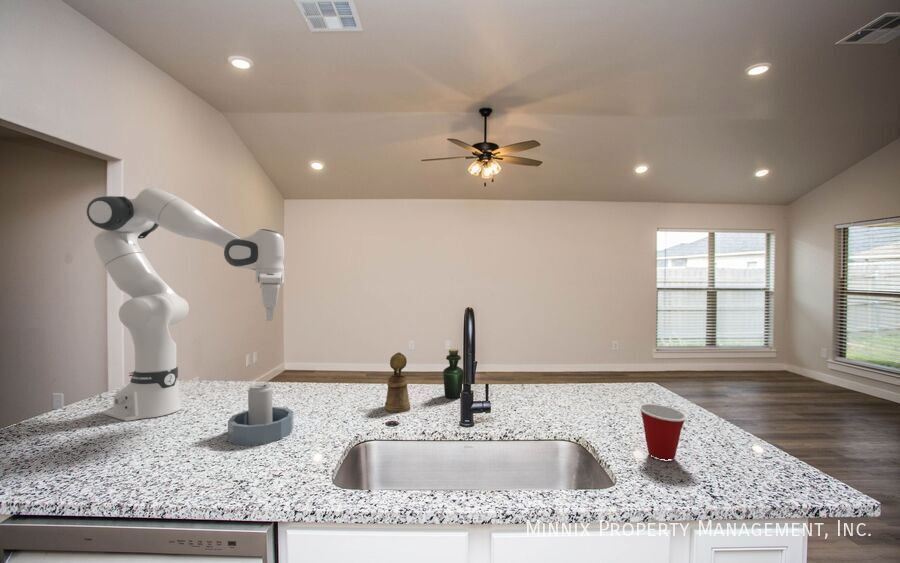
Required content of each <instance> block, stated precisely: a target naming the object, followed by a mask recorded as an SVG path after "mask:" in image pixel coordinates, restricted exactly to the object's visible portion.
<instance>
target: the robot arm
mask: <svg viewBox="0 0 900 563" xmlns="http://www.w3.org/2000/svg"><path fill="white" fill-rule="evenodd" d="M86 215H87V219H88V221H89V222H90V223H91V224H92V225H94V226H95V227H97V228H99V229H101V230H103V231H100V232H99V233H98V234H97V235H95V237H94V240H93V244H94V248H95V251H96V252H97V255H98V257H99V260H100V261H101V263H102V265H103V266H104V268H105V269H106V271H107V273H108V274H109V276H110V277H111V279H112V281H113V282H114V284H115V286H116V287H117V289H119V290H120V291H122V292H124V293H125V294H127V295H129V297H131V298H130V299H128V300H126V301H124V302H123V303H122V304H121V306H120V307H119V311H118V318H119V321H120V322H121V323H122V325H124V326H125V327H126V328H127V329H128V331H129V333H130V336H131V339H132V342H133V347H134V370H133V372H132V371H131V372H128V374H129V375H128V377H131V378H130V381H129V383H128V384H126V386H124V387H123V388H121V389H119V391H118V392H117V393H116V394H114V397H113V402H112V403H113V404H112V405H113V406H112V407H109V408H107V409H105V410H104V411H103V415H104V416H108V417H112V418H115V419H117V420H118V419H119V420H122V421H125V422H129V421H135V420H140V419H149V418H157V417H162V416H163V417H164V416H166V415H170V414H173V413H176V412H178V411H179V410H181V409H182V407H183V403H184V401H183V400H182V399H181V390H180V382H179V381H178V377H179V368H178V366H177V362H178V361H177V358H178V356H177V355H178V354H177V353H178V352H177V351H178V348H177V347H178V345H177V343H176V341H174V340H173V338H172V335H171V333H170V328H169V326H173V325H175V324H178V323H180V322H181V321H183V320H184V319H186V317H187V316H188V314H189V313H190V312H189V311H190V307H189V306H190V305H189V303H188V301H187V300H186V299H185V298H184V297H182V296H180V294H179V295H178V294H177V293H176V292H175V291H174V290H173V289H172V288H171V286H169V285H168V284H167V283H166V282H165V281H164V280H163V278H161V277H160V275H159V274H158V273H157V272H156V270H155V268H154V267H153V266H152V263H151V262H150V261H149V259H148V258H147V256H146V254H145V253H144V251H143V250H142V248H141V247H140V245H139V244H138V243H139V242H138V239H141V240H142V239H145V238H146V237H147V236H148V235H149V234H151V233H152V232H154V231H156V229H157V228H158V227H161V228H163V229H164V230H167V231H168V232H171V233H173V234H176V235H178V236H182V237H186V238H191V239H195V240H201V241H205V242H209V243H212V244H214V245H217V246H218V247H221V248H222V249H224V250H223V257H224V259H225V260H226V263H227V264H229V265H231V266H233V267H235V268H242V269H250V270H253V271H255V281H254V282H255V284H259V289H261V296H262V303H263V307H264V308H266V311H265V312H266V321H268V322H272V321H273V320H274V310H275V309H274V308H276V307H277V304H278V300H279V299H278V298H279V290H280V289H281V285H282V284H285V265H284V260H285V257H286V256H285V255H286V254H285V253H286V252H285V251H286V250H285V240H284V236H283V235H282V234H281V233H280V232H278V231H275V230H270V229H265V228H261V229H258V230H257V231H255V232H254V233H252V234H250V235H247V236H244V237H241V236H239V235H238V234H236V233H234V232H232V231H230V230H228V229H226V228H225V227H223V226H222V225H220V224H219V223H217V222H216V221H214V220H213V219H211V218H210V217H208V216H207V214H204V213H203V212H201V210H199V209H198V208H196V207H195V206H194V205H192V204H190V203H189V202H187V200H184V199H182V198H180V197H179V196H177V195H175V194H172V193H170V192H168V191H165V190H163V189H161V188H155V187H148V188H144V189H143V190H142V191H140V192H139V193H138V195H137V196H136V197H135V198H127V197H126V196H123V195H122V196H117V195H115V196H113V195H110V196H107V195H106V196H99V197H95V198H94V199H92V200H91V201H90V202H89V203H88V205H87V207H86Z"/></svg>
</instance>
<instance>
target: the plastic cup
mask: <svg viewBox="0 0 900 563" xmlns="http://www.w3.org/2000/svg"><path fill="white" fill-rule="evenodd" d="M638 407H639V411H640V413H641V418H642V423H643V430H644V436H645V441H646V448H647V452H648V455H649V454H650V455H652V456H654V457H657V458H659V459H665V460H668V459H674V460H675V458H676V454H677V449H678V446H679V442H680V437H681V432H682V428H683V425H684V423H685V421H686V420H687V419H688V416H687V414H686V413H684V412H682V411H681V410H678V409H675V408H672V407H669V406H666V405H660V404H654V403H645V404H640V405H639V406H638Z"/></svg>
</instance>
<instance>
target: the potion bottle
mask: <svg viewBox="0 0 900 563" xmlns="http://www.w3.org/2000/svg"><path fill="white" fill-rule="evenodd" d="M445 360H448V363H449V364H448V365H449V366H447V367H446V368H445V367H444V369H443V371H442V376H443V379H442V380H443V388H444V398H447V399H449V398H450V399H451V400H456V399H455V398H458V399H460V393H461V390H462V391H463V389H462V384H463V385H464V378H463V371H464V369H462V367H460V366H458V363H459V361H460V360H462V356H461V355H459V349H457V348H450V349H448V355H446V358H445Z"/></svg>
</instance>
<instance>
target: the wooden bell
mask: <svg viewBox="0 0 900 563" xmlns="http://www.w3.org/2000/svg"><path fill="white" fill-rule="evenodd" d="M407 362H408V361H407V357H406V356H405V355H404V354H402V353H401V352H397V353H395V354H393V355H392V356H391V357H390V361H389V366H390V368H391V369H393V375H389V376H388V379H387V384H386V385H387V390H386V391H387V394H386V399H385V402H384V410H385V411H387V412H390V413H403V412H408V411H410V410H411V402H410V399H409V393H408V392H409V390H408V379H407V375H403V374H402V370H403V369H404V368H406V366H407Z"/></svg>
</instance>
